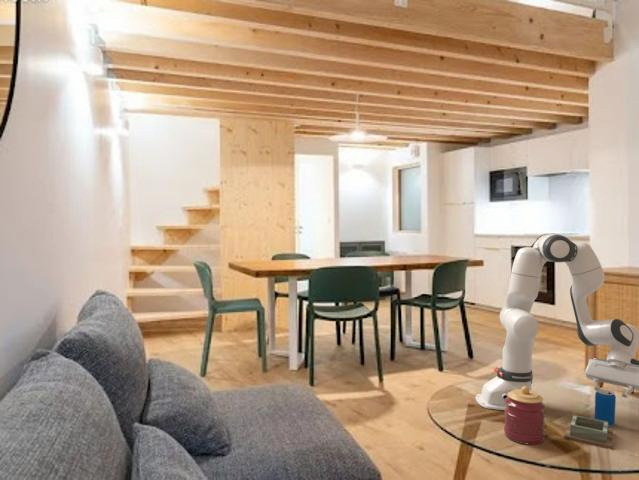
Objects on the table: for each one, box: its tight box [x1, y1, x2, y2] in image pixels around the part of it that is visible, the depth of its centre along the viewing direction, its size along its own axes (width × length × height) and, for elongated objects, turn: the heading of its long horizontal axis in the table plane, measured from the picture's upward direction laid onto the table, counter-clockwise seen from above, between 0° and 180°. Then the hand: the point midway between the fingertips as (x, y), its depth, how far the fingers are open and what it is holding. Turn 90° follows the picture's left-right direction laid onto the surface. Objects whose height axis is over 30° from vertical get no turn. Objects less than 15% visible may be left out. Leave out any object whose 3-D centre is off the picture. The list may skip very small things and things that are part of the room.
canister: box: [503, 386, 547, 445], centre depth 170 cm, size 13×13×18 cm
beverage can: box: [594, 388, 617, 428], centre depth 181 cm, size 6×6×12 cm
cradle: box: [564, 414, 614, 450], centre depth 171 cm, size 14×14×4 cm
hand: (610, 393), depth 185 cm, fingers open, 8 cm apart
